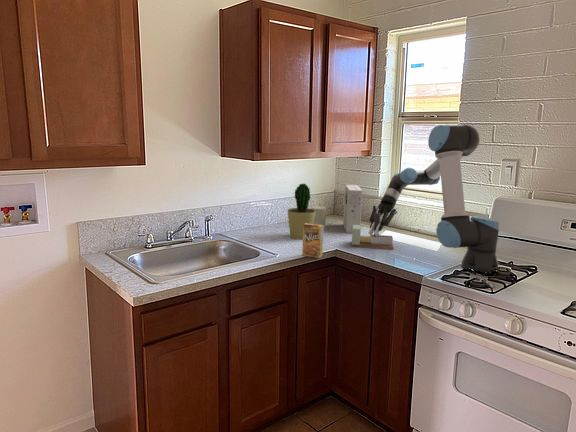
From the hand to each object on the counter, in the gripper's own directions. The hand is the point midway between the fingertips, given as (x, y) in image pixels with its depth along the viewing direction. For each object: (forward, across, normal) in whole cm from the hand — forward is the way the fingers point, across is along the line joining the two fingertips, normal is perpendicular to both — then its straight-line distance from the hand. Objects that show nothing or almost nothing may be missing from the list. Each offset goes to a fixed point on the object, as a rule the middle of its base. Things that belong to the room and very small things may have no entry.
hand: (372, 234), depth 231 cm
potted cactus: (+11, +39, +2) cm, 40 cm away
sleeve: (0, -2, -8) cm, 8 cm away
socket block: (+5, +9, -3) cm, 10 cm away
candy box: (+29, +13, +20) cm, 37 cm away
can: (-9, +47, -18) cm, 52 cm away
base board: (+3, +2, -7) cm, 7 cm away
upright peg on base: (+2, +3, -5) cm, 6 cm away
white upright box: (-15, +29, -24) cm, 41 cm away
